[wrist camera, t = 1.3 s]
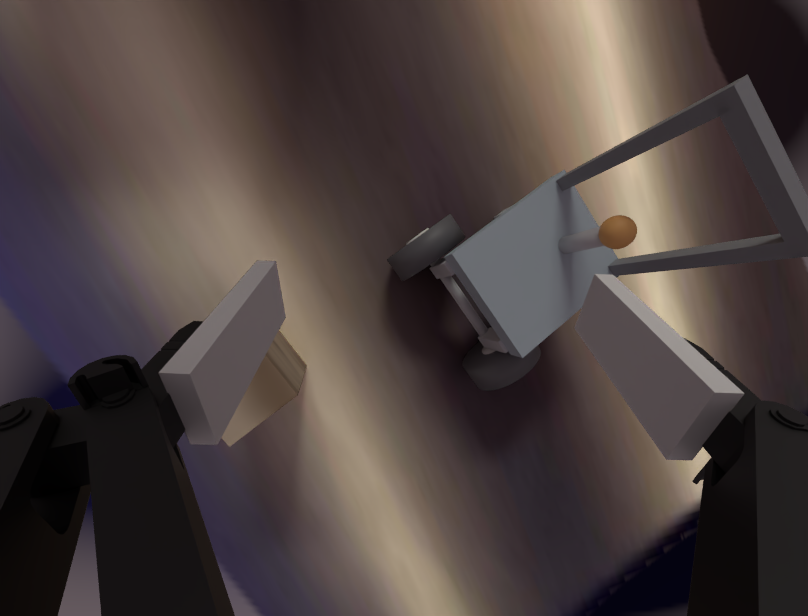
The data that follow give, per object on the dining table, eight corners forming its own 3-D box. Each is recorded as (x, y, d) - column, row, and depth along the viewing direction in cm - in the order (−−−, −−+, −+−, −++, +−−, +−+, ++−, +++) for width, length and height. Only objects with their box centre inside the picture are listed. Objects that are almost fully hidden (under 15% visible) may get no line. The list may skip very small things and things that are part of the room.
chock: (261, 399, 32) (229, 446, 21) (226, 356, 31) (174, 383, 21) (306, 365, 33) (297, 394, 22) (273, 323, 32) (247, 332, 21)
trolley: (466, 382, 36) (664, 491, 15) (380, 262, 34) (470, 193, 13) (566, 297, 39) (856, 289, 18) (492, 181, 37) (721, 13, 16)
